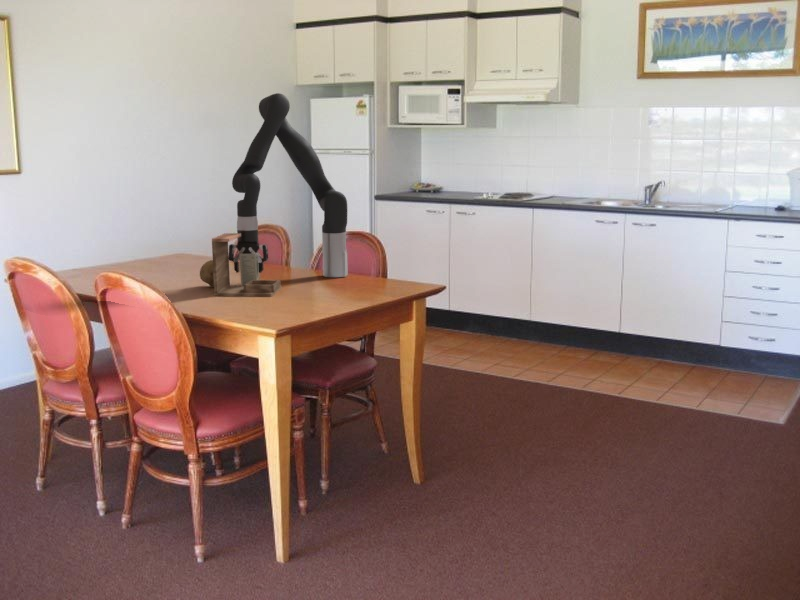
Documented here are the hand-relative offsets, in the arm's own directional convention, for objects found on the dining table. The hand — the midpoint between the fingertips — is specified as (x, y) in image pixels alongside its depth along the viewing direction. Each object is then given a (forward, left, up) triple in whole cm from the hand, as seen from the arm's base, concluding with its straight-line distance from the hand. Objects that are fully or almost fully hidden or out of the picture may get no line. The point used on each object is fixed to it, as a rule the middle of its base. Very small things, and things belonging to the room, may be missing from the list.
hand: (249, 272), depth 327 cm
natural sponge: (+13, +4, -5) cm, 14 cm away
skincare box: (0, 0, -5) cm, 5 cm away
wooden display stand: (-3, +14, -5) cm, 15 cm away
